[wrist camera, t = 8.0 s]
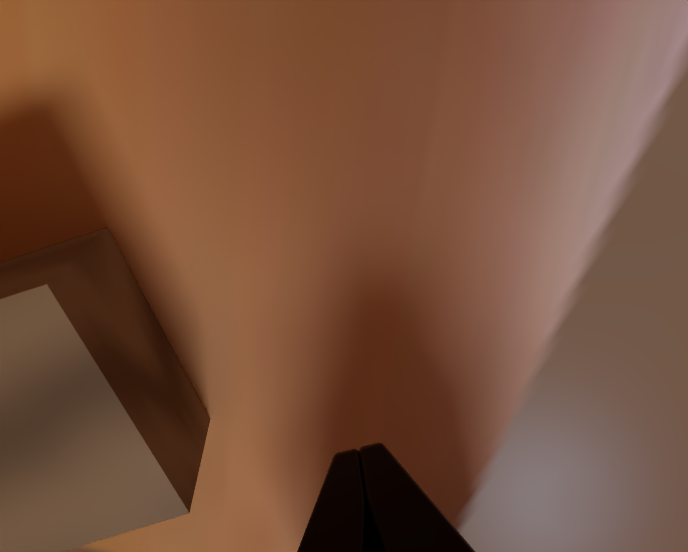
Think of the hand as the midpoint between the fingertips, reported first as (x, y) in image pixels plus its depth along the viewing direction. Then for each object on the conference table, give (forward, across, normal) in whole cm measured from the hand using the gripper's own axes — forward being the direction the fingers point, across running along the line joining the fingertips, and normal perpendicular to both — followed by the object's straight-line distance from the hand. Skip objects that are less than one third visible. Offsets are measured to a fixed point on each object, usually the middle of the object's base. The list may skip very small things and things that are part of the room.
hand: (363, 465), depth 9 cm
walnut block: (+11, +11, +2) cm, 16 cm away
